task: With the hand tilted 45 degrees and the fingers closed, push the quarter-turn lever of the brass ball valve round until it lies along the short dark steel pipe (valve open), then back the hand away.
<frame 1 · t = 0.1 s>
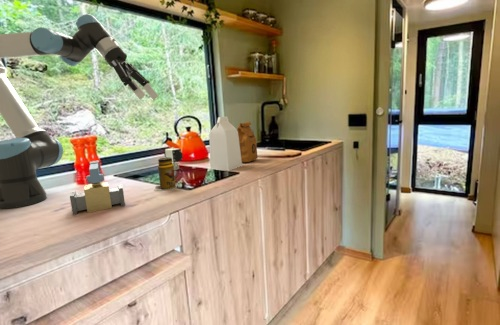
hand: (149, 97, 115), 36 cm above the countertop, tool tilted 35°, fingers open, 13 cm apart
ball valve: (99, 207, 98), on the countertop
lever: (95, 171, 102), point 11 cm above the countertop, hinge at 0.0°
milk: (226, 168, 153), on the countertop
condiment: (166, 188, 119), on the countertop
coffee package: (247, 161, 167), on the countertop
pneumatic valve: (175, 169, 156), on the countertop
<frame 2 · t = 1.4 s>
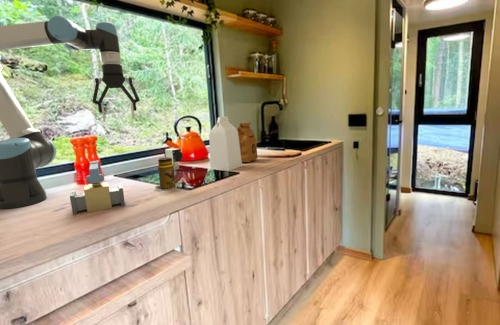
hand: (119, 119, 123), 28 cm above the countertop, tool pointing down, fingers open, 10 cm apart
nothing on the countertop moved.
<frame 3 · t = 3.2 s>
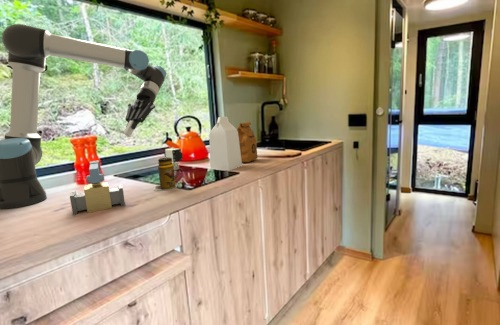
hand: (126, 134, 120), 22 cm above the countertop, tool tilted 45°, fingers closed
nothing on the countertop moved.
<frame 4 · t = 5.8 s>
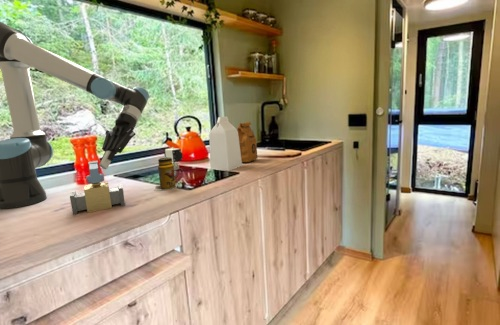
hand: (102, 167, 108), 11 cm above the countertop, tool tilted 45°, fingers closed
lever: (94, 171, 101), point 11 cm above the countertop, hinge at 1.8°, touching gripper
everything else where it was.
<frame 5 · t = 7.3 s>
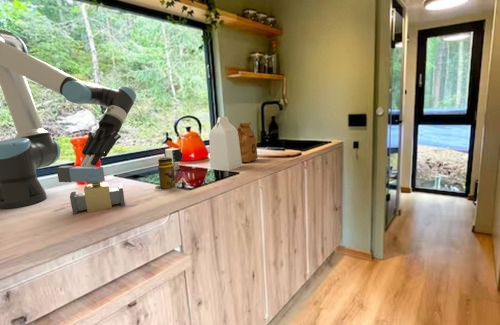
hand: (83, 172, 101), 11 cm above the countertop, tool tilted 45°, fingers closed on lever, 2 cm apart
lever: (80, 174, 98), point 11 cm above the countertop, hinge at 45.1°, touching gripper
everything else where it was.
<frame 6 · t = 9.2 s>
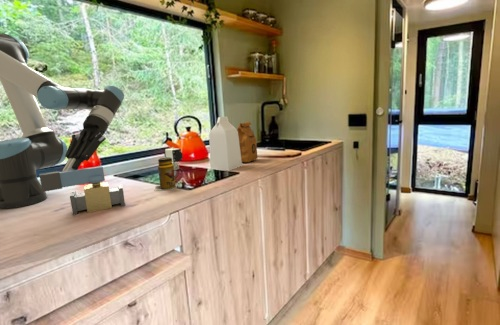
hand: (65, 177, 94), 11 cm above the countertop, tool tilted 45°, fingers closed
lever: (73, 177, 93), point 11 cm above the countertop, hinge at 98.2°, touching gripper
everything else where it was.
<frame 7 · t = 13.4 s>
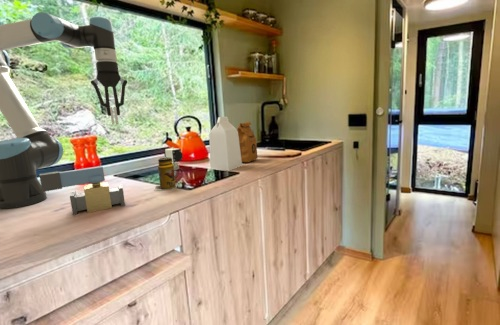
hand: (115, 124, 117), 26 cm above the countertop, tool pointing down, fingers closed
lever: (73, 177, 93), point 11 cm above the countertop, hinge at 98.3°
everything else where it was.
at the end: lever at +98° (first picture: +0°) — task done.
